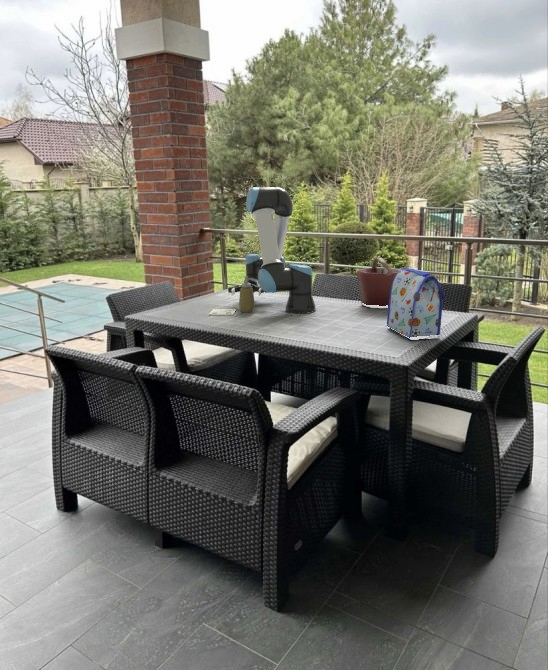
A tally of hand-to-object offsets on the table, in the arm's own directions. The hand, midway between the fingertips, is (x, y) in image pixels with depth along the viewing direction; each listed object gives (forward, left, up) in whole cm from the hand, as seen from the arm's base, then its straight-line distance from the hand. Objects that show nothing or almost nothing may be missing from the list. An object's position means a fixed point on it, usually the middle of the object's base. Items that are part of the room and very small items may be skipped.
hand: (245, 292), depth 266 cm
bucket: (-67, -16, -10) cm, 70 cm away
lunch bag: (-76, +41, -10) cm, 87 cm away
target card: (+12, +1, -10) cm, 15 cm away
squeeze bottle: (0, -1, -10) cm, 10 cm away
